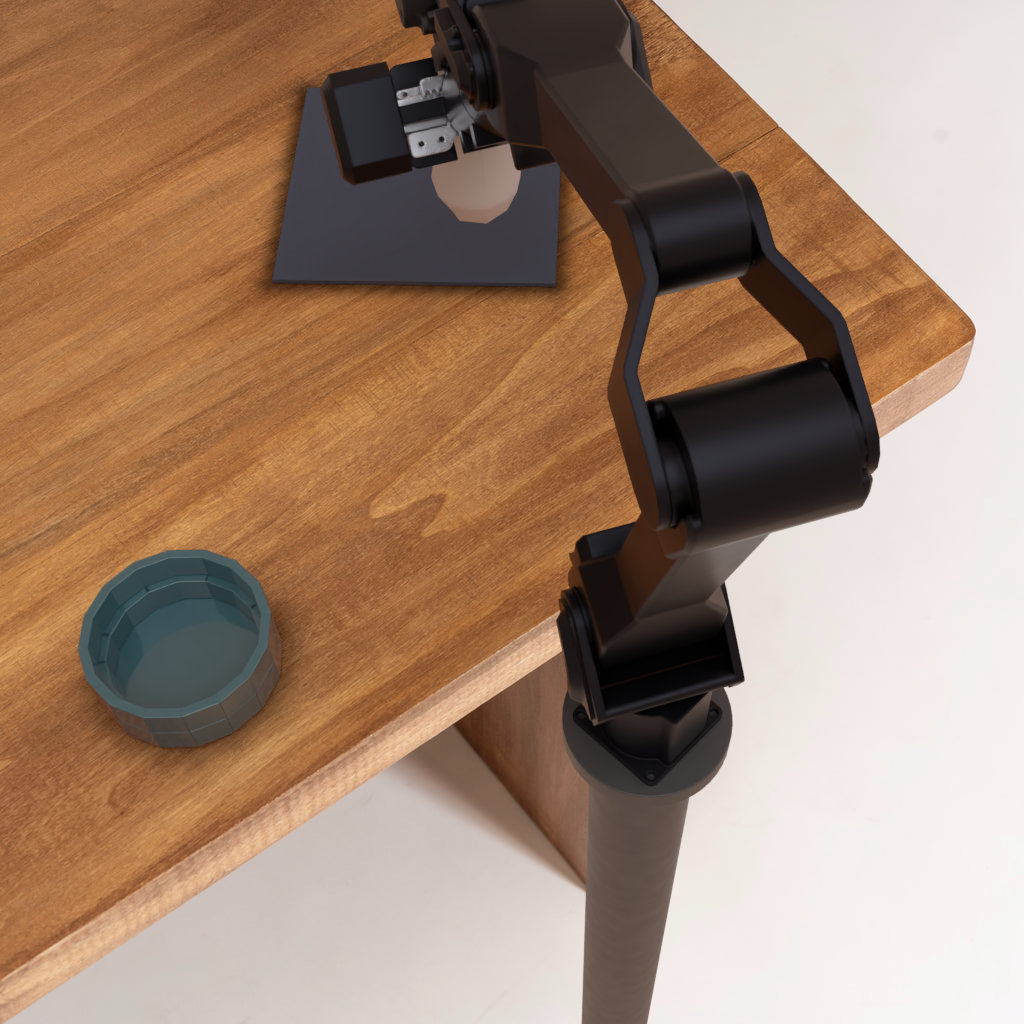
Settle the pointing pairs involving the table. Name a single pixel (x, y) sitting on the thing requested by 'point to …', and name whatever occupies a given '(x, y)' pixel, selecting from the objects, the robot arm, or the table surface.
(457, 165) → the salt shaker
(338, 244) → the cloth
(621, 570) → the robot arm
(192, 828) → the table surface
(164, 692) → the blue-grey round bowl
